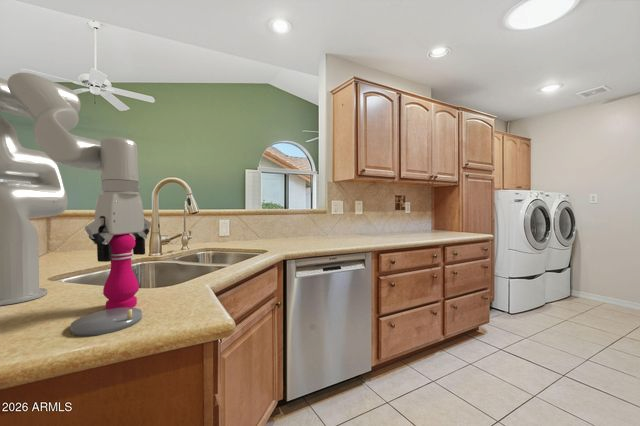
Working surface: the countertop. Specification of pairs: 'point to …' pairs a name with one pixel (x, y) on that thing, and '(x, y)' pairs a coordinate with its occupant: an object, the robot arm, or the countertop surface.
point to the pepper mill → (121, 274)
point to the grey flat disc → (106, 321)
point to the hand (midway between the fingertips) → (123, 257)
